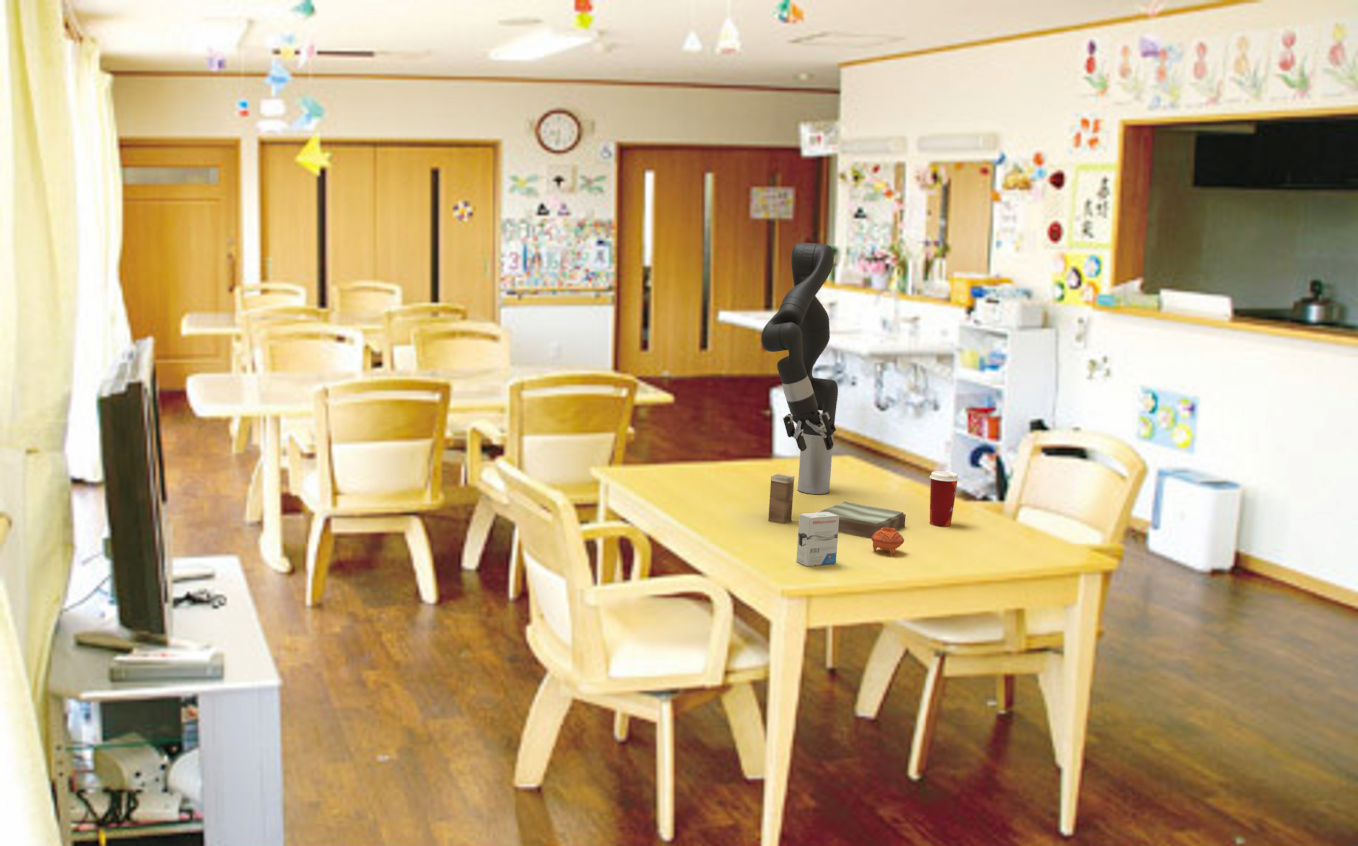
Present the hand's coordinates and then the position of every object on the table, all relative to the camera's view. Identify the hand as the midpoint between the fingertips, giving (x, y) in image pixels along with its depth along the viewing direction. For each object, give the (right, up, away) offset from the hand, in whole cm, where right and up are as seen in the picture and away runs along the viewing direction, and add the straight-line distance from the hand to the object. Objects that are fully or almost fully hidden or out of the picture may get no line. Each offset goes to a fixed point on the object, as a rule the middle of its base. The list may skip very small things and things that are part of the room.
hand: (816, 449), depth 372 cm
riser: (+11, -20, -6) cm, 24 cm away
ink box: (-4, -26, -43) cm, 50 cm away
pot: (+14, -25, -30) cm, 41 cm away
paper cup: (+33, -20, +3) cm, 39 cm away
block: (-10, -19, -3) cm, 22 cm away
